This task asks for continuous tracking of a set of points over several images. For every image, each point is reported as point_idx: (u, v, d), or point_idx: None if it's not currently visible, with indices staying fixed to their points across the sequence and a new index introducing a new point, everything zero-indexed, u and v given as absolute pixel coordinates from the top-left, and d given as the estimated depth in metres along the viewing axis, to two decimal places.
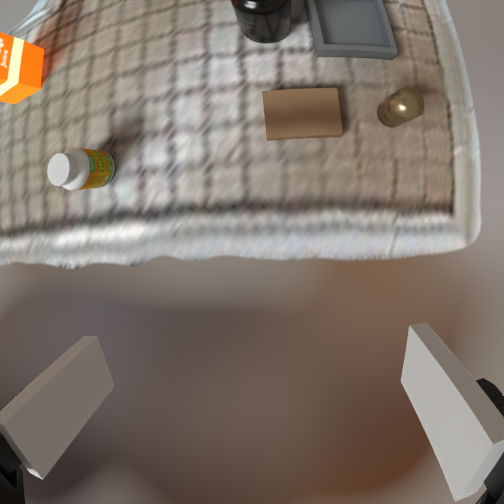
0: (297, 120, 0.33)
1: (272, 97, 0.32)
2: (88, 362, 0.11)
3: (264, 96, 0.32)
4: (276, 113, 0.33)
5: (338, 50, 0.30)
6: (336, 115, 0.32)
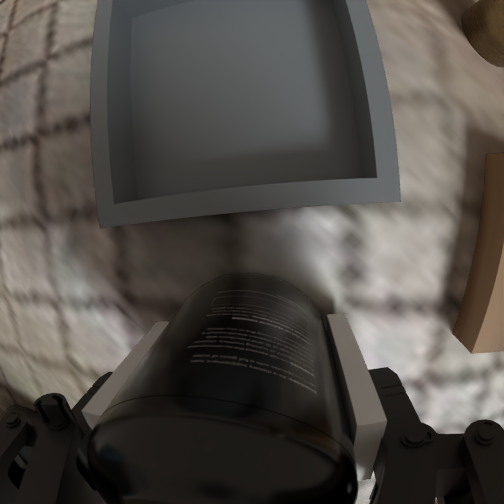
0: None
1: (493, 330, 0.10)
2: None
3: (482, 349, 0.10)
4: None
5: None
6: None
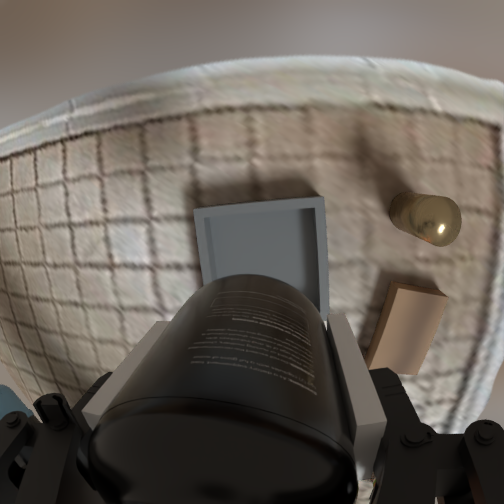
0: (415, 343, 0.26)
1: (380, 362, 0.27)
2: None
3: None
4: (398, 362, 0.26)
5: (328, 292, 0.25)
6: (428, 298, 0.25)
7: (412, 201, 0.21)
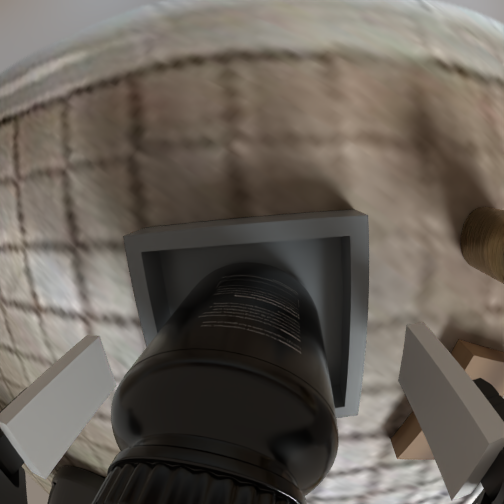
0: None
1: (416, 449, 0.15)
2: (90, 361, 0.11)
3: (406, 457, 0.15)
4: None
5: None
6: (501, 369, 0.13)
7: None
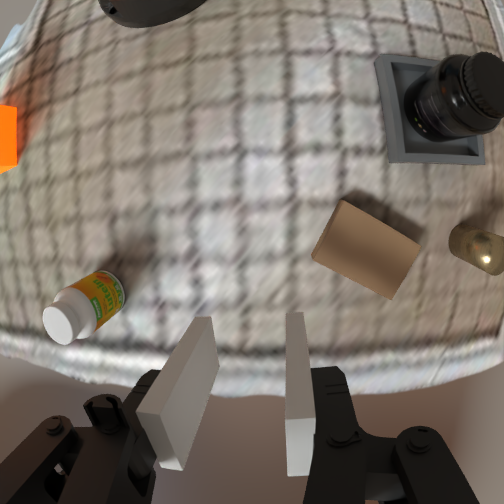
0: (358, 259, 0.26)
1: (350, 216, 0.26)
2: (207, 341, 0.12)
3: (342, 208, 0.26)
4: (341, 237, 0.26)
5: (421, 161, 0.24)
6: (400, 277, 0.26)
7: None
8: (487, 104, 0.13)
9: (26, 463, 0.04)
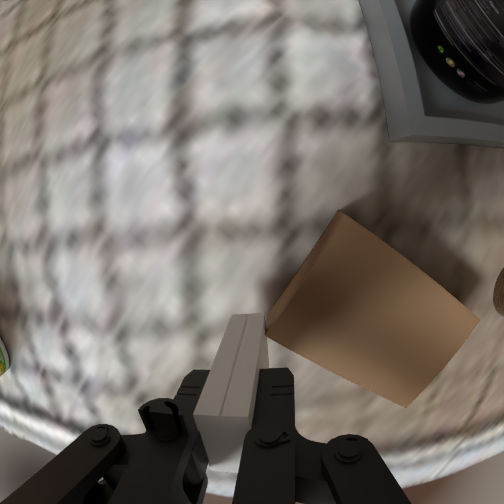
0: (361, 341, 0.12)
1: (358, 251, 0.11)
2: None
3: (341, 233, 0.11)
4: (332, 296, 0.12)
5: (458, 138, 0.10)
6: (431, 372, 0.12)
7: None
8: None
9: (65, 477, 0.04)
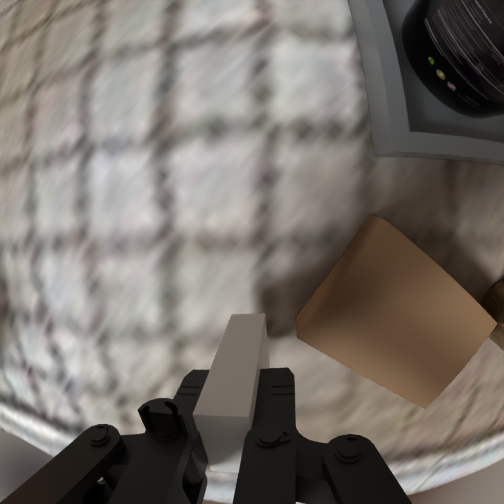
0: (389, 343, 0.12)
1: (392, 255, 0.11)
2: None
3: (378, 237, 0.11)
4: (366, 298, 0.12)
5: (445, 154, 0.10)
6: (450, 374, 0.12)
7: None
8: None
9: (64, 477, 0.04)
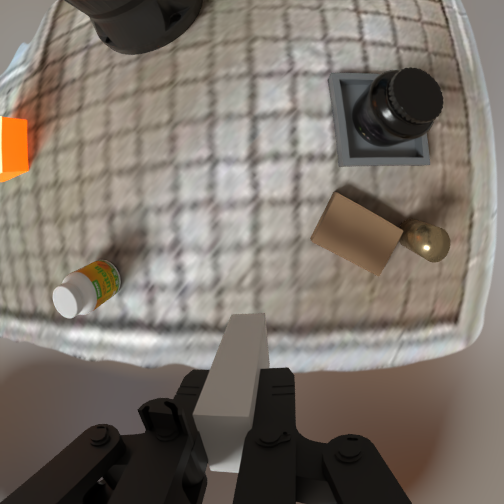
0: (349, 241, 0.32)
1: (342, 205, 0.31)
2: None
3: (335, 199, 0.31)
4: (335, 222, 0.32)
5: (365, 165, 0.30)
6: (385, 256, 0.32)
7: None
8: (406, 114, 0.19)
9: (64, 477, 0.04)
